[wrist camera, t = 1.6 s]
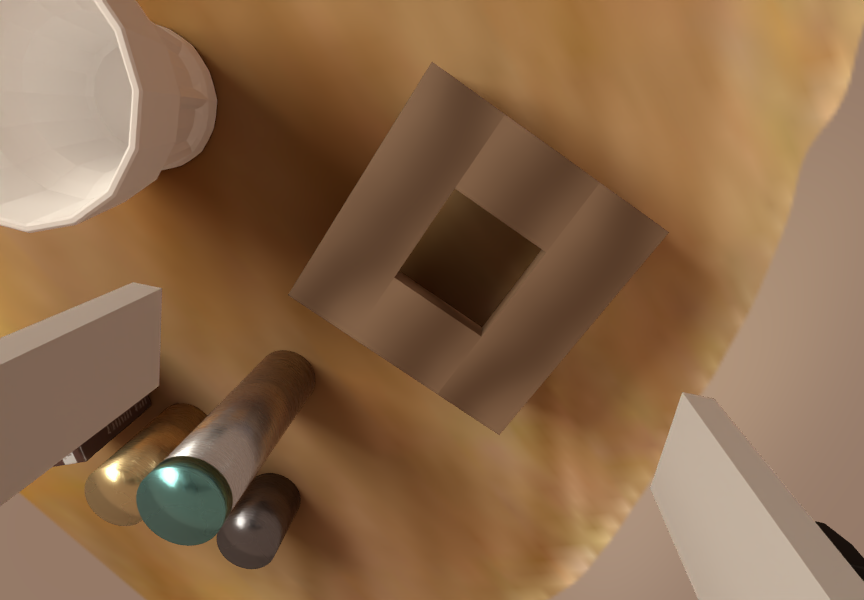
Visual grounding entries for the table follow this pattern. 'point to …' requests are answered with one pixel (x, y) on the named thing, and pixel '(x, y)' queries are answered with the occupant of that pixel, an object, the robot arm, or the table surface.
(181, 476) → the long pin
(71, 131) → the cup
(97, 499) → the medium pin
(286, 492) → the short pin
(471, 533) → the table surface
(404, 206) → the bracket
